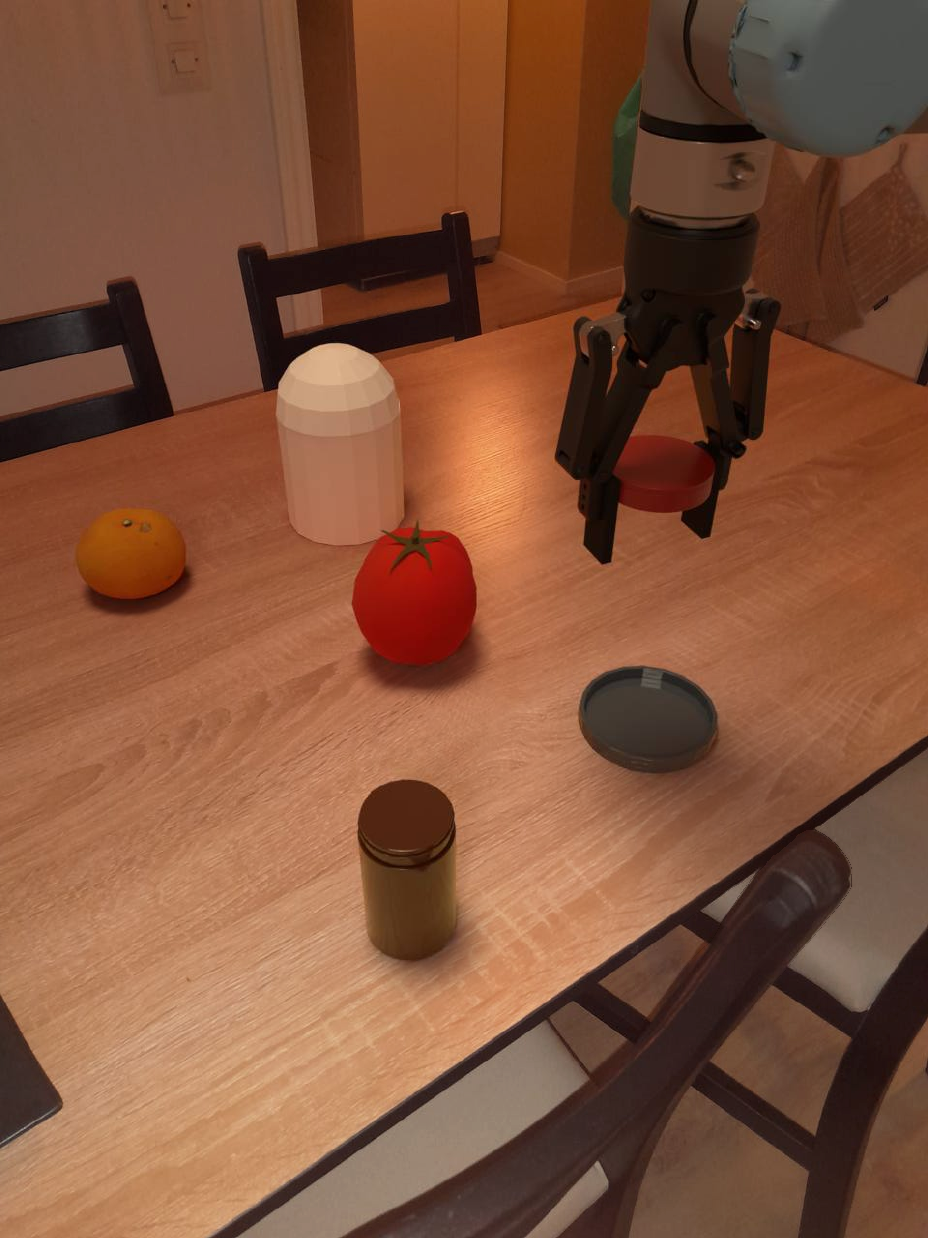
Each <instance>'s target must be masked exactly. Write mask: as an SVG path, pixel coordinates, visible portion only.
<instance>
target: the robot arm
mask: <svg viewBox="0 0 928 1238" xmlns="http://www.w3.org/2000/svg"><path fill="white" fill-rule="evenodd" d="M647 26H648V28H647V37H646V47H645V57H644V67H643V78H642V88H641V95H640V96H641V98H640V107H639V108H640V110H639V118H638V126H637V134H636V141H635V150H634V159H633V166H632V167H633V168H632V175H631V183H630V191H629V195H630V199H631V200H632V201H633V202H634V204H635V205H636V206H635V207H634V208H633V209H632V211H630V212H629V214H628V216H627V217H628V218H627V227H626V237H625V247H624V256H623V275H624V284H625V285H624V291H623V295H622V297H621V298H620V301H619V302H618V304H617V306H616V309H615V312H614V313H612V314H608V315H606V316H604V317H600V318H598V319H596V320H592V319H591V318H590V317H588V316H586V315H585V316H580V317H578V318H577V319H576V320H575V322H574V324H573V329H572V330H573V338H574V339H573V340H574V348H575V357H574V363H573V367H572V372H571V376H570V381H569V387H568V390H567V396H566V400H565V404H564V410H563V414H562V419H561V423H560V427H559V428H560V429H559V433H558V439H557V442H556V447H555V452H554V462H556V463H557V465H559V466H560V467H561V468H562V469H563V470H564V472H566V473H567V474H568V475H569V476H570V477H571V478H572V479H573V480H575V481H579V484H578V485H579V486H578V496H577V509H578V512H579V513H580V515H582V516H583V518H584V519H585V522H584V532H583V542H582V545H583V546H584V547H585V549H586V550H587V551H588V552H589V553H590V554H591V555H592V556H593V557H594V558H595V560H597V561H598V563H599V564H600V565H607V564H610V563H612V560H613V558H612V557H613V551H614V542H615V534H616V526H617V517H618V509H619V503H618V502H619V494H620V485H621V481H620V480H619V479H618V478H617V477H616V476H615V475H613V474H612V473H613V470H614V468H615V466H616V464H617V462H618V460H619V458H620V456H621V454H622V452H623V449H624V447H625V445H626V443H627V441H628V439H629V437H631V434H632V432H633V430H634V429H635V427H636V424H637V422H638V420H639V418H640V416H641V413H642V412H643V409H644V407H645V405H646V404H647V401H648V399H649V397H650V395H651V392H652V391H653V390H657V389H658V388H659V387H660V385H662V382H663V380H664V378H665V375H666V374H667V372H671V371H674V370H675V369H678V368H679V367H682V366H685V367H689V370H690V374H691V379H692V383H693V384H692V385H693V387H694V388H693V389H694V392H695V396H696V397H695V398H696V401H697V406H698V411H699V414H700V419H701V424H702V428H703V432H704V437H705V438H706V439H707V442H706V441H705V440H704V439H701V440H697V441H693V444H695V445H697V446H698V447H700V448H702V449H703V450H705V451H706V452H707V453H708V454H709V455H710V456H711V457H712V459H713V461H714V464H715V471H714V476H713V482H712V487H711V492H710V495H709V497H708V498H707V499H706V500H705V502H703V503H702V504H700V505H699V506H697V507H695V508H692V509H689V510H685V511H681V516H680V521H681V523H683V524H684V525H685V527H687V528H688V529H689V530H690V531H691V532H692V533H694V534H695V535H696V536H697V537H698V538H699V539H701V540H703V539H707V538H711V534H712V531H713V530H712V529H713V525H714V521H715V520H714V519H715V513H716V509H717V503H718V498H719V493H720V491H723V490H725V488H726V486H727V484H728V481H729V475H730V470H731V466H732V460H733V459H735V460H739V459H740V458H741V459H742V457H744V455H745V454H746V452H747V445H745V444H744V442H745V441H747V440H750V441H751V442H753V441H756V440H758V439H760V437H761V436H762V435H763V433H764V428H765V427H764V425H765V416H766V415H765V414H766V401H767V400H766V399H767V390H768V380H769V379H768V377H769V366H770V353H771V343H772V335H773V333H774V330H775V327H776V325H777V322H778V320H779V317H780V315H781V312H782V304H781V302H780V301H779V300H777V299H774V298H773V297H772V296H769V295H768V294H766V293H764V292H762V291H760V290H758V289H756V288H753V287H752V288H749V289H747V290H746V291H745V292H744V288H743V287H744V286H745V285H746V284H747V283H748V282H749V280H750V278H751V275H752V271H753V265H754V261H755V255H756V250H757V244H758V240H759V235H760V229H761V222H760V221H759V219H758V217H757V215H756V214H755V213H756V212H757V211H759V210H760V209H761V207H763V205H764V204H765V200H766V195H767V190H768V185H769V184H768V183H769V178H770V173H771V168H772V163H773V157H774V152H775V147H776V142H778V143H780V144H781V145H782V146H783V147H784V148H786V149H788V150H792V151H796V152H799V153H805V152H806V153H808V154H811V155H813V156H818V157H821V158H827V159H828V158H829V159H846V158H854V157H860V156H862V155H865V154H868V153H870V152H872V151H873V150H874V149H878V148H879V147H881V146H884V145H885V144H886V143H888V142H890V141H891V140H893V139H896V138H897V137H898V136H901V135H922V134H926V135H927V134H928V0H650V7H649V18H648V25H647ZM732 327H733V328H732ZM731 328H732V336H731V353H730V362H729V355H728V350H727V346H726V340H725V336H726V335H727V333H728V332H729V331H730V329H731ZM622 336H624V338H625V341H624V344H623V346H622V348H621V350H620V348H619V347H618V342H619V340H620V339H621V337H622ZM619 351H620V353H619ZM618 354H619V355H618ZM617 355H618V357H617V360H616V364H615V365H616V373H615V375H614V378H613V380H612V382H611V384H610V381H611V376H612V373H613V372H612V371H613V357H615V356H617ZM640 361H641V362H642V363H643V364H644V365H646V367H645V366H644V365H642V364H641V363H640ZM729 368H730V369H729ZM727 369H729V370H730V371H729V372H730V373H729V378H728V372H727ZM609 385H610V386H609Z"/></svg>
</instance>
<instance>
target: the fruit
mask: <svg viewBox="0 0 928 1238" xmlns="http://www.w3.org/2000/svg"><path fill="white" fill-rule="evenodd" d="M186 560H187V547H186V541H185V538H184V536H183V533H182V532H181V530H180V529H179V527H178V526H177V525H176V523H174V521H173V520H171V518H169V516H167V515H165V514H164V513H163V512H159V511H157V510H154V509H150V508H149V509H148V508H137V507H120V508H115V509H112V510H109V511H106V512H103V513H102V514H100V515H99V516H98V517H96V518H95V519H94V520H93V521H92V522H91V523H90V524H89V525H88V526H87V527H86V528H85V529H84V531H82V533H81V535H80V537H79V539H78V541H77V544H76V549H75V562H76V565H77V569H78V572H79V574H80V576H81V578H82V579H83V581H84V582H85V583H86V584H87V585H88V586H89V587H90V588H91V589H92V590H94V591H95V592H97V593H99V594H101V595H103V596H107V597H109V598H114V599H120V600H136V599H144V598H147V597H150V596H154V595H155V596H156V595H157V594H159V593H161V592H163V591H165V590H167V589H169V588H170V587H171V586H173V585H174V584H175V583H176V582H177V581H178V580H179V579H180V578H181V576H182V574H183V572H184V569H185V565H186Z"/></svg>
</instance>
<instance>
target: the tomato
mask: <svg viewBox="0 0 928 1238" xmlns="http://www.w3.org/2000/svg"><path fill="white" fill-rule="evenodd" d="M380 531H382V532H384V533H386V535H384V536H381V537H379V539H377V540H376V542H375V543H374V545H373V546H372V547H371V549H370V551H369V552H368V553H367V555H366V556H365V558H364V560H363V563H362V565H361V566H360V569H359V570H358V572H357V574H356V576H355V578H354V583H353V584H354V585H353V589H352V598H351V607H352V610H353V614H354V617H355V620H356V623H357V626H358V628H359V630H360V633H361V634H362V636H363V637H364V638H365V640H366V642H367V643H368V644H369V646H370V647H371V649H372V650H374V652H376V653H377V654H379V655H380V656H381V657H383V658H385V659H386V660H388V661H390V662H392V663H395V664H404V665H415V666H424V667H425V666H429V665H431V664H435V663H438V662H440V661H441V662H442V661H443V660H444V659H446V658H448V657H449V656H451V655H452V654H454V653H455V652H456V651H457V650H458V649H459V648H460V646H461V645H462V643H463V642H464V640H465V639H466V637H467V635H468V634H469V632H470V631H471V629H472V625H473V622H474V619H475V616H476V613H477V607H478V605H477V603H478V602H477V601H478V594H477V592H478V590H477V589H478V588H477V587H478V586H477V584H476V580H475V577H474V569H473V564H472V561H471V559H470V556H469V553H468V550H467V549H466V547H465V546H464V544H463V542H462V541H461V539H460V538H459V537H457V536H456V535H455V534H454V533H452V532H449V531H446V530H443V529H440V530H439V529H438V530H434V529H433V530H424V529H421V528H420V525H419V519H417V520H416V523H415V526H414V527H413V526H408V527H407V526H406V527H398V528H397V529H396V530H394V531H392V532H390V533H388V532H386V531H384V530H380Z"/></svg>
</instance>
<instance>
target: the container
mask: <svg viewBox="0 0 928 1238" xmlns="http://www.w3.org/2000/svg"><path fill="white" fill-rule="evenodd" d="M276 396H277V397H276V408H275V417H276V423H277V430H278V440H279V446H280V455H281V462H282V471H283V479H284V486H285V497H286V503H287V511H288V518H289V523H290V525H291V527H292V528H293V529H294V531H295V532H296V533H297V534H298V535H300V536H301V537H304V538H305V539H307V540H310V541H311V542H313V543H317V544H318V543H319V544H322V545H323V544H325V545H329V546H335V547H336V546H337V547H338V546H357V545H364V544H366V543H370V542H373V541H377V540H378V539H379V537H381V536H384V535H386V533H384V532H382V531H380V530H384V531H386V532H388V533H390V532H392V531H394V530H396V529H398V528H399V526H400V525H401V523H402V522H403V520H404V519H405V517H406V516H405V493H404V467H403V466H404V465H403V444H402V443H403V442H402V417H401V416H402V414H401V403H400V398H399V396H398V392H397V388H396V385H395V381H394V378H393V376H391V374H390V373H389V371H388V370H387V369H386V368H385V367H384V365H383V364H382V363H381V362H380V360H379V359H377V357H375V356H374V355H373V354H371V353H369V352H366V351H365V350H362V349H360V348H359V347H356V346H353V345H351V344H347V343H340V342H333V343H325V344H320V345H317V346H315V347H312V348H311V349H309V350H307V351H306V352H304V353H303V354H300V355H299V356H297V357H296V358H295V359H294V360H292V362H290V364H289V365H288V367H287V369H286V370H285V371H284V374H283V375H282V377H281V378H280V380H279V382H278V388H277V395H276Z"/></svg>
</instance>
